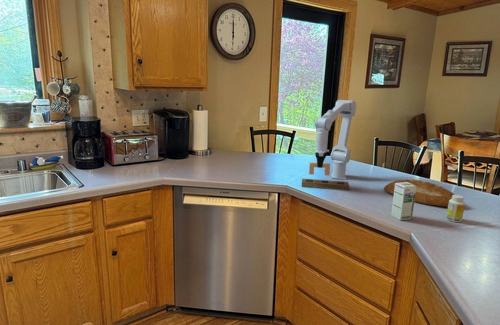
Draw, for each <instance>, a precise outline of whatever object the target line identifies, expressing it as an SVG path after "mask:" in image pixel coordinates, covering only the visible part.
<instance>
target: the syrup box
mask: <svg viewBox="0 0 500 325" xmlns="http://www.w3.org/2000/svg"><path fill="white" fill-rule="evenodd" d="M415 193H416V186H415V185H414V184H411V183H408V182H404V183H395V189H394V195H393V198H392V204H391V205H392V206H391V215H390V216H392V217H394V218H395V219H397V220H398V221H407V220H412V219H413V213H414V206H415V202H414V200H415Z"/></svg>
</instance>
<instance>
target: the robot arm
mask: <svg viewBox="0 0 500 325" xmlns="http://www.w3.org/2000/svg"><path fill="white" fill-rule="evenodd" d="M356 111H357V102H356V101H355V99H354V100H347V99H337V100H336V101H335V105H334V107H333V108H332V109H328V110H327V111H326V113H324V114H323V115H322V116H321V117H317V118H316V119H315V123H314V127H315V131H316V138H315V139H316V140H315V148H314V151H315V152H314V156H315V159H316V163H317V166H318V167H317V168H319V169H320V168H321V169H322V166H323V163H325V160H326V157H327V153H329V152H330V149H328V141H329V138H328V137H329V131H330V129H331V127H332V125H333V122H334V121H336V119H337V118H338V115H339V116H341V117H342V120H341V124H340V129H339V130H340V131H339V137H338V141H337V145H335V146H333V147H332V149H331V150H332V151H331V153H330V160H331V161H332V162H333V164H332V172H330V175H331V179H335V180H336V179H338V180H347V176H346V171H347V164H348V163H349V162H350V160H351V151H352V150H351V149H350V147H348V141H349V140H348V139H349V135H350V130H351V124H352V119H353V117H355V115H356Z"/></svg>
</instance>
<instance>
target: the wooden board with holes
mask: <svg viewBox="0 0 500 325" xmlns="http://www.w3.org/2000/svg"><path fill="white" fill-rule="evenodd" d="M301 187H302V188H313V189H325V190H326V189H327V190H340V191H350V184H349V181H344V180H329V179H327V180H326V179H315V178H302V179H301Z"/></svg>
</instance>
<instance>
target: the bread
mask: <svg viewBox="0 0 500 325" xmlns="http://www.w3.org/2000/svg"><path fill="white" fill-rule="evenodd" d="M404 182H408V183H411V184H414V185H415V186H416V193H415V200H414V203H416V204H417V203H418V204H423V205H428V206H429V205H430V206H438V207H447V208H448V204H449V200H450V199H452V195H456V194H455V193H453V191H450V190H448V189H446V188H445V187H442V186H440V185H437V184H434V183H432V182H429V181H423V180H419V179H397V180H394V181H392V182H390V183H388V184H386V185H385V186H384V188H383V189H384V191H385V192H387V193H389V194H390V195H393V196H394V189H395V183H404Z"/></svg>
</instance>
